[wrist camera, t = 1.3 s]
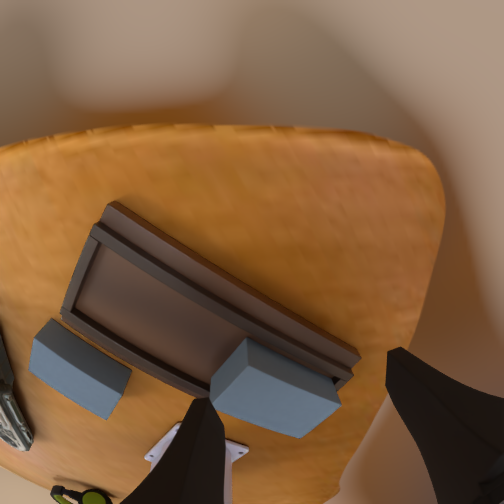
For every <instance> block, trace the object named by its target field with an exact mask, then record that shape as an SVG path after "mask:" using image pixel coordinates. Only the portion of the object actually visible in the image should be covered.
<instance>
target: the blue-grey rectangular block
mask: <svg viewBox="0 0 504 504" xmlns="http://www.w3.org/2000/svg"><path fill="white" fill-rule="evenodd" d="M209 399H210V401H211V403H212V404H213V406H214V408H215V409H216V410H218V411H220V412H223V413H225V414H228V415H231V416H233V417H236V418H238V419H241V420H244V421H247V422H249V423H252V424H255V425H258V426H261V427H264V428H267V429H270V430H273V431H276V432H279V433H282V434H285V435H289V436H292V437H296V438H299V439H300V438H302V437H303V436H304V435H306V434H307V433H308V432H310V431H311V430H312V429H313V428H315V427H316V426H317V425H318V424H320V423H321V422H322V421H323V420H325V419H326V418H327V417H328V416H330V415H331V414H332V413H333V412H334V411H336V410H337V409H338V408H339V407H340V406H341V402H340V399H339V397H338V394H337V392H336V389H335V387H334V384H333V382H332V379H331V378H329V377H327V376H325V375H322V374H320V373H318V372H316V371H314V370H312V369H310V368H307V367H305V366H303V365H301V364H299V363H297V362H295V361H293V360H291V359H289V358H287V357H285V356H283V355H281V354H279V353H277V352H275V351H273V350H271V349H269V348H267V347H265V346H263V345H261V344H259V343H257V342H255V341H254V340H252V339H250V338H248V337H246V338H245V339H244V340H243V342H242V343H241V344H240V345H239V346H238V347H237V349H236V350H235V351H234V352H233V353H232V354H231V356H230V357H229V358H228V359H227V360H226V361H225V362H224V364H223V365H222V366H221V367H220V368H219V369H218V370H217V372H216V373H215V374H214V375H213V376H212V377H211V385H210V398H209Z"/></svg>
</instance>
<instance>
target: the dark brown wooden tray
mask: <svg viewBox="0 0 504 504" xmlns="http://www.w3.org/2000/svg"><path fill="white" fill-rule="evenodd" d="M60 314H61V315H62V317H61V320H62V321H64V322H65V323H66V324H68V325H69V326H71V327H72V328H74V329H75V330H76V331H78V332H79V333H81V334H82V335H84V336H85V337H87V338H88V339H90V340H91V341H93V342H95V343H96V344H98V345H99V346H101V347H102V348H104V349H106V350H107V351H109V352H111V353H112V354H114V355H115V356H117V357H119V358H121V359H122V360H124V361H126V362H127V363H129V364H131V365H133V366H134V367H136V368H138V369H140V370H142V371H143V372H145V373H147V374H149V375H151V376H153V377H155V378H157V379H159V380H161V381H162V382H164V383H166V384H168V385H170V386H172V387H175V388H177V389H179V390H181V391H183V392H185V393H187V394H189V395H191V396H194V397H196V398H204V397H209V398H210V385H211V377H212V376H213V375H214V374H215V373H216V372H217V370H218V369H219V368H220V367H221V366H222V365H223V364H224V362H225V361H226V360H227V359H228V358H229V357H230V356H231V354H232V353H233V352H234V351H235V350H236V349H237V347H238V346H239V345H240V344H241V343H242V342H243V340H244V339H245V338H246V337H248V338H250V339H252V340H254V341H255V342H257V343H259V344H261V345H263V346H265V347H267V348H269V349H271V350H273V351H275V352H277V353H279V354H281V355H283V356H285V357H287V358H289V359H291V360H293V361H295V362H297V363H299V364H301V365H303V366H305V367H307V368H310V369H312V370H314V371H316V372H318V373H320V374H322V375H325V376H327V377H329V378H331V379H332V382H333V384H334V387H335V389H336V392H337V391H338V390H339V389H340V388H341V387H343V386H344V385H345V384H346V383H347V382H348V381H349V380H350V379H351V378H352V377H353V376H354V374H353V372H352V370H351V368H352V367H353V366H354V365H355V364H356V363H357V362H358V361H359V360H360V359H361V356H360V354H359V353H358V351H357V349H355V348H353V347H352V346H350V345H348V344H346V343H345V342H343V341H341V340H339V339H338V338H336V337H334V336H332V335H331V334H329V333H327V332H325V331H324V330H322V329H320V328H318V327H317V326H315V325H313V324H312V323H310V322H308V321H306V320H305V319H303V318H301V317H300V316H298V315H296V314H295V313H293V312H291V311H289V310H288V309H286V308H284V307H283V306H281V305H279V304H278V303H276V302H274V301H273V300H271V299H269V298H268V297H266V296H264V295H263V294H261V293H259V292H258V291H256V290H255V289H253V288H251V287H250V286H248V285H246V284H245V283H243V282H241V281H240V280H238V279H237V278H235V277H233V276H232V275H230V274H228V273H227V272H225V271H224V270H222V269H220V268H219V267H217V266H216V265H214V264H212V263H211V262H209V261H208V260H206V259H204V258H203V257H201V256H200V255H198V254H196V253H195V252H193V251H192V250H190V249H189V248H187V247H185V246H184V245H182V244H181V243H179V242H178V241H176V240H174V239H173V238H171V237H170V236H168V235H167V234H165V233H164V232H162V231H160V230H159V229H157V228H156V227H154V226H153V225H151V224H150V223H148V222H147V221H145V220H144V219H142V218H141V217H139V216H138V215H136V214H135V213H133V212H131V211H130V210H128V209H127V208H125V207H124V206H122V205H121V204H119V203H118V202H116V201H113V202H111V203H109V204H107V206H106V208H105V210H104V212H103V214H102V216H101V219H100V221H98V222H97V223H95V224H94V225H93V227H92V229H91V232H90V235H89V236H88V238H87V241H86V243H85V245H84V248H83V250H82V253H81V255H80V258H79V260H78V263H77V265H76V268H75V270H74V273H73V276H72V278H71V281H70V284H69V287H68V289H67V292H66V295H65V298H64V301H63V304H62V307H61V310H60Z"/></svg>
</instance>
